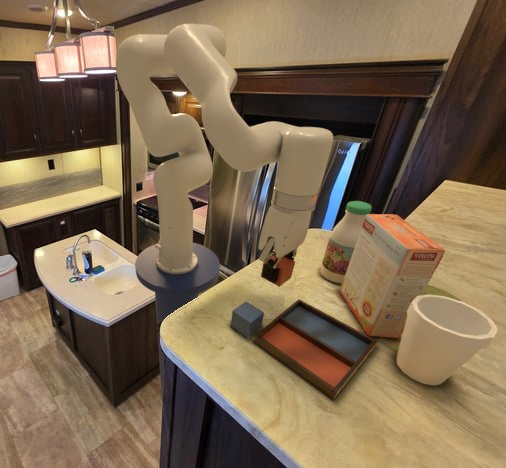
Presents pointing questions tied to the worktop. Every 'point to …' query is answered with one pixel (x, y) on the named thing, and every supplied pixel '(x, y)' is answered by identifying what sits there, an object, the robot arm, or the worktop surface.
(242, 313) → the slate-blue block
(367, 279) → the cracker box
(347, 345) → the sorting tray
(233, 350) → the worktop surface
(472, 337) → the foam cup
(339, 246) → the milk bottle
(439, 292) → the mat
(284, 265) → the terracotta block
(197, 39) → the robot arm
